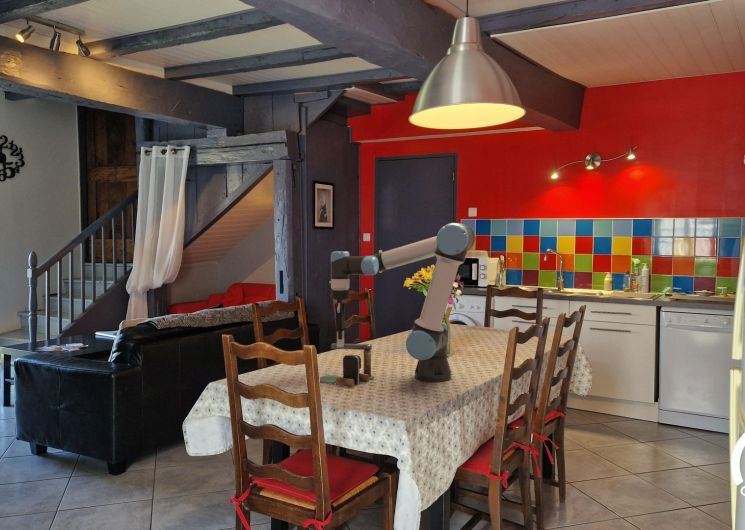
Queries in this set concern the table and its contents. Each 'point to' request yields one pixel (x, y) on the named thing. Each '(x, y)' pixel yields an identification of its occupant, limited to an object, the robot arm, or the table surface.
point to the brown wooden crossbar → (353, 346)
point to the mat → (328, 379)
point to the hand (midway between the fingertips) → (340, 346)
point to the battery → (352, 367)
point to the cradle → (362, 377)
